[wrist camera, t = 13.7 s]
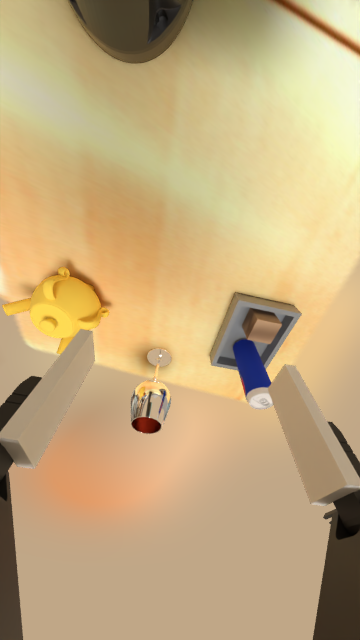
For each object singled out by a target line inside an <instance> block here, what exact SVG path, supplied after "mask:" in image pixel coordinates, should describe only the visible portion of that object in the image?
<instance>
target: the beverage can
mask: <svg viewBox="0 0 360 640" xmlns="http://www.w3.org/2000/svg"><path fill="white" fill-rule="evenodd" d="M233 352H234V356H235V359H236V363H237V367H238V370H239V374H240V378H241V382H242V385H243V389H244V393H245V396H246V400H247V402H248V403H249V405H250V406H251V407H253V408H255V409H266V408H269V407H271V406H273V402H272V399H271V397H270V394H269V391H268V387H269V386H270V385H271V381H270V379H269V377H268V374H267V372H266V370H265V367H264V365H263V363H262V360H261V358H260V356H259V353H258V351H257V349H256V346H255V344H254V342H253V341H251V340H247V339H241V340H238V341H237V342H236V343H235V344H234V346H233Z"/></svg>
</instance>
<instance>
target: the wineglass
mask: <svg viewBox="0 0 360 640" xmlns="http://www.w3.org/2000/svg"><path fill="white" fill-rule="evenodd" d="M147 359H148V361H149V362H150V363H151V364H152V365H154V366H156V369H155V374H154V378H153V379H152V380H147V381H144V382H142V383H141V384H139V385H138V386H137V387H136V388H135V390H134V391H133V394H132V397H131V426H132V428H133V429H135V430H136V431H138V432H141V433H146V434H152V433H156V432H158V431H160V430H161V428H162V426H163V423H164V421H165V418H166V416H167V413H168V410H169V407H170V404H171V396H170V392H169V390H168V389H167V387H166V386H165V385H164V384H163V383H161V382H160V381H158V380H157V376H158V370H159V367H162V366H166V365H168V364H169V363H170V362H171V354H170V353H169V352H168V351H167V350H165V349H162V348H155V349H152V350H150V351H149V352H148V354H147Z"/></svg>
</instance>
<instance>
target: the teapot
mask: <svg viewBox="0 0 360 640" xmlns="http://www.w3.org/2000/svg"><path fill="white" fill-rule="evenodd" d="M58 273H59V275H55V276H51V277H48V278H46V279H45V280H43V281H42V282H41V283H40V284H39V285H38V286H37V287H36V289H35V291H34V292H33V295H32V297H31V298H28V299H25V300H21V301H17V302H13V303H9V304H5V305H2V307H3V309H4V311H5V313H6V314H7V316H8V315H12V314H16V313H20V312H24V311H28V310H30V317H31V320H32V322H33V324H34V325H35V326H36V327H37V328H38V329H39V330H40V331H41V332H42V333H44V334H46V335H48V336H51V337H54V338H62V339H61V342H60V345H59V348H58V351H57V353H58V354H61V353H62V352H63V351H64V350H65V348H66V347H67V346H68V344H69V343H70V342H71V341H72V339H73V338H74V337H75V335H76V334H77V333H78V332H79V330H80V329H83V330H90V329H93V328H96V327H97V326H98V325H99V323H100V319H101V317H107V316H108V315H109V310H108V309H106V308H101V304H100V301H99V299H98V297H97V295H96V294H95V292H94V291H95V289H94V287H93V286H92V285H90V284H85V283H84V282H82V281H81V280H79V279H77V278H74V277H71V276H70V272H69V270H68V269H67V268H65V267H60V268H59V269H58Z"/></svg>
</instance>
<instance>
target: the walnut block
mask: <svg viewBox="0 0 360 640" xmlns="http://www.w3.org/2000/svg"><path fill="white" fill-rule="evenodd" d="M281 326H282V323H281V322H280V321H279V319H278V318H277V316H276V315H275V313H273V312H269V311H264V310H259V309H255V308H250V309H249V311H248V313H247V315H246V318H245V320H244V322H243V324H242V328H243V330H244V333H245V335H246V338H247V340H252V341H257V342H262V343H267V344H271V342H272V341H273V339H274V337H275V336H276V334H277V333H278V331H279V329H280V328H281Z"/></svg>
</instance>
